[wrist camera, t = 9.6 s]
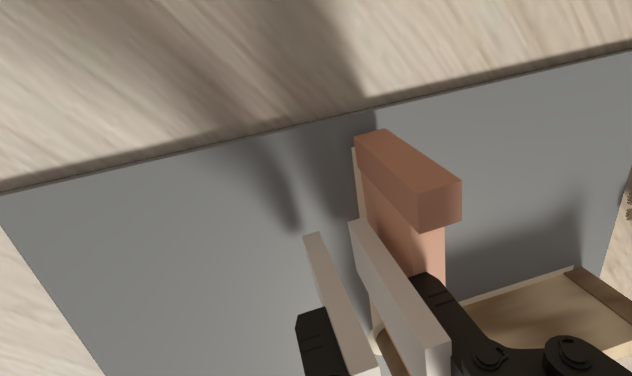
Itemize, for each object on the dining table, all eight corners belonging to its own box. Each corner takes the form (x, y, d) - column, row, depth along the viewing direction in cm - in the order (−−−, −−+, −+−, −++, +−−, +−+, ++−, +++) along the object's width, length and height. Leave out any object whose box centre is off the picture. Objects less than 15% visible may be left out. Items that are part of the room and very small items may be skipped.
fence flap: (403, 315, 20) (460, 408, 15) (380, 323, 20) (430, 420, 15) (384, 128, 15) (462, 180, 10) (353, 136, 14) (416, 194, 10)
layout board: (-11, 195, 13) (-18, 200, 13) (657, 42, 17) (667, 42, 17) (194, 495, 24) (194, 502, 24) (569, 359, 28) (574, 364, 28)
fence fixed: (377, 352, 21) (427, 460, 16) (374, 329, 21) (426, 436, 15) (577, 286, 23) (679, 363, 18) (583, 263, 22) (692, 337, 17)
